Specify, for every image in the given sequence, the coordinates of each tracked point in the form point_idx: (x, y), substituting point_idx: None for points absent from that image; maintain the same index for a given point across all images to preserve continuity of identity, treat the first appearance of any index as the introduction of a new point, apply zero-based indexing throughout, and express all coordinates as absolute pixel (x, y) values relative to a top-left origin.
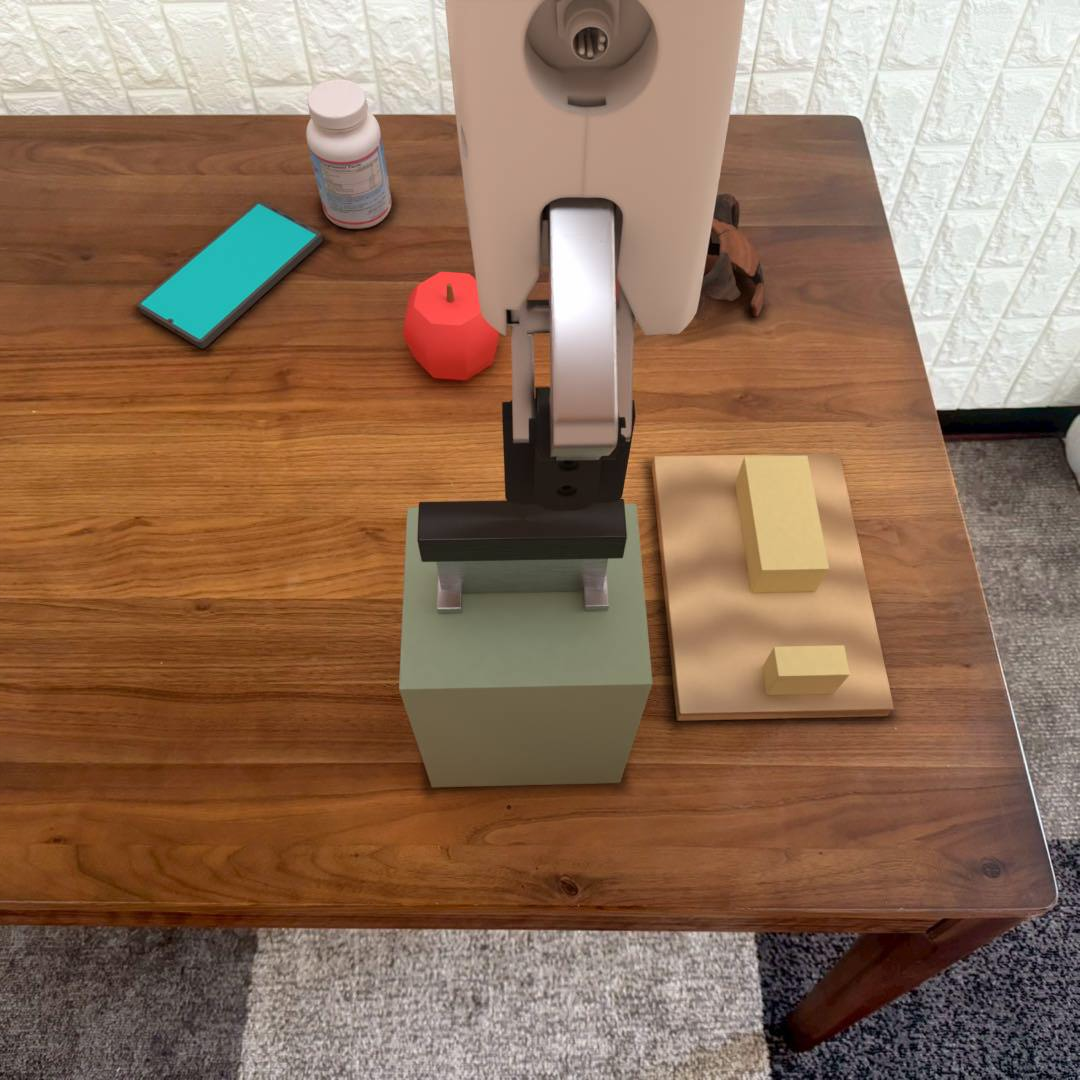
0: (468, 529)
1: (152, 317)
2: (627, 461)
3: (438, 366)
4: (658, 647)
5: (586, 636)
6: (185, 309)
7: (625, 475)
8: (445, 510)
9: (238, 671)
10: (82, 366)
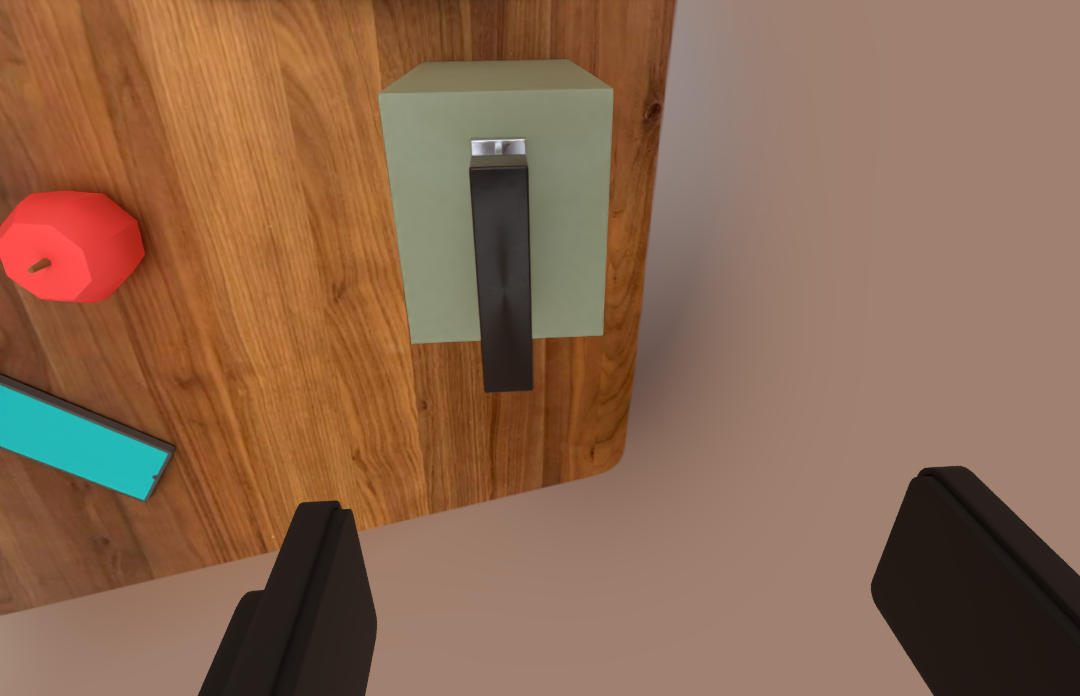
0: (518, 345)
1: (154, 488)
2: (1062, 559)
3: (135, 256)
4: (428, 6)
5: (556, 162)
6: (137, 469)
7: (1021, 520)
8: (495, 368)
9: (474, 374)
10: (221, 519)
